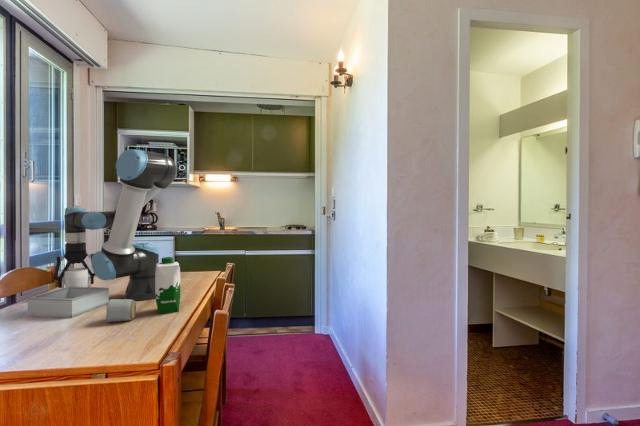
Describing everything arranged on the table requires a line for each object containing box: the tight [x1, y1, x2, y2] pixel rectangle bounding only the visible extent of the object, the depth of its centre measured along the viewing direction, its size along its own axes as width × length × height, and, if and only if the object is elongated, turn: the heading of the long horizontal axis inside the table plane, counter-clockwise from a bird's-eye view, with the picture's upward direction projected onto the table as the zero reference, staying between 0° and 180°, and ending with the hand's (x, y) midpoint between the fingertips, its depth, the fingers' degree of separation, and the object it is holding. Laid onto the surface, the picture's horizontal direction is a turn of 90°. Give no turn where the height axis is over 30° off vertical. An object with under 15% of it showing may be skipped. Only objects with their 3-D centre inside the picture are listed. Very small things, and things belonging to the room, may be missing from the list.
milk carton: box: [155, 256, 181, 315], centre depth 134 cm, size 9×9×20 cm
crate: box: [27, 286, 110, 319], centre depth 136 cm, size 18×18×7 cm
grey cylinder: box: [105, 298, 137, 323], centre depth 124 cm, size 11×8×8 cm
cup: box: [63, 267, 90, 288], centre depth 154 cm, size 9×9×12 cm
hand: (76, 293), depth 154 cm, fingers closed on cup, 9 cm apart
